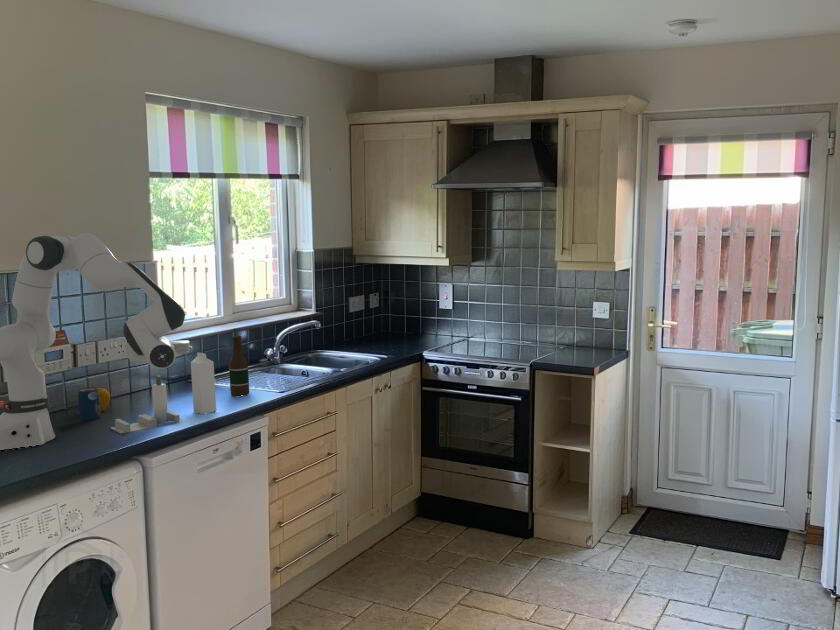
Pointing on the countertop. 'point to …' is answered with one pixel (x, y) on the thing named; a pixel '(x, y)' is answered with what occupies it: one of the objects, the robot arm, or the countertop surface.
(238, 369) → the beer bottle
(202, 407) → the milk
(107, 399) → the yellow bell pepper
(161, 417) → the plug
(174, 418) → the white ridged flat base
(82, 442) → the countertop surface
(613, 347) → the countertop surface
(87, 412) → the soda can
